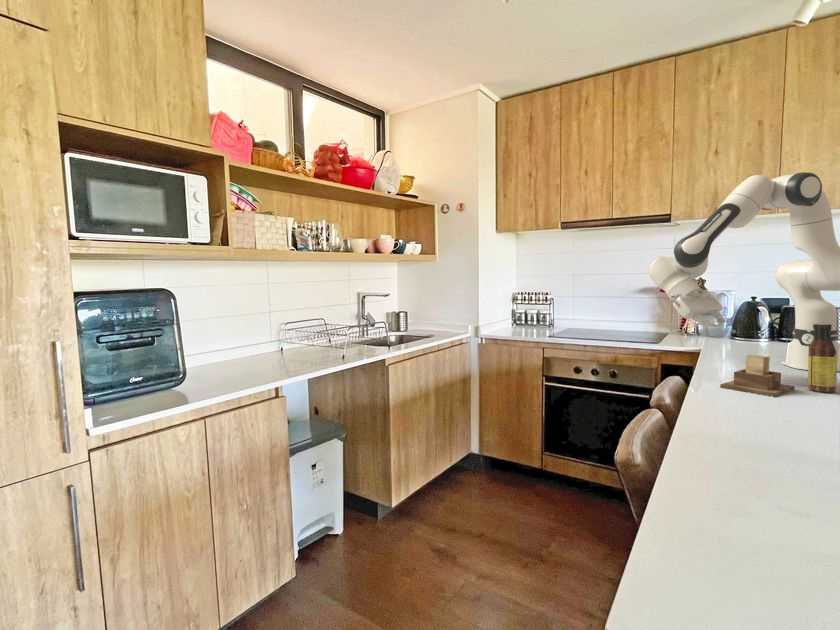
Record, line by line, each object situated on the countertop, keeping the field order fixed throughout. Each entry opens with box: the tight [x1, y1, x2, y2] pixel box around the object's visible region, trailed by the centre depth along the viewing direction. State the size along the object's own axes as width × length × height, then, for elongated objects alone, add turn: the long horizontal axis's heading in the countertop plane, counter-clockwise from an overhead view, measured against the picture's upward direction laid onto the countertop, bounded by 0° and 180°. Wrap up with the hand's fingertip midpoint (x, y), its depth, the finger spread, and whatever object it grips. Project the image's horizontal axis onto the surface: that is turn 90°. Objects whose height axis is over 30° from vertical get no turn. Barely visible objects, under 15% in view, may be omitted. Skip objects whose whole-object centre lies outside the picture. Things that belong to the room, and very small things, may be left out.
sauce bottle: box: [807, 323, 838, 394], centre depth 131 cm, size 6×6×20 cm
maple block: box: [745, 353, 771, 376], centre depth 136 cm, size 4×4×9 cm
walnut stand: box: [719, 368, 796, 398], centre depth 136 cm, size 14×14×5 cm
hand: (716, 324), depth 146 cm, fingers open, 8 cm apart
